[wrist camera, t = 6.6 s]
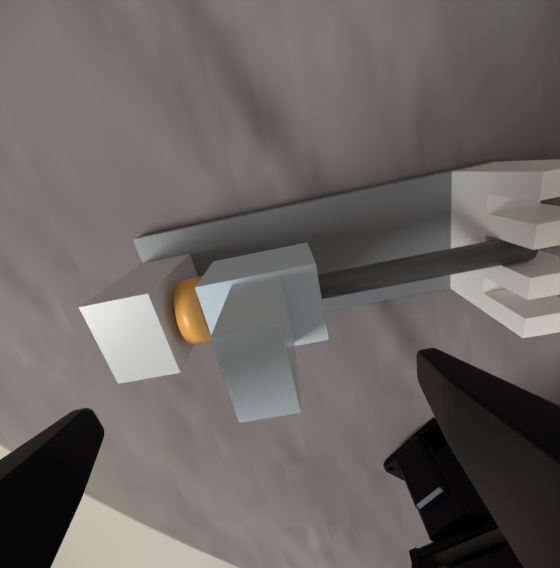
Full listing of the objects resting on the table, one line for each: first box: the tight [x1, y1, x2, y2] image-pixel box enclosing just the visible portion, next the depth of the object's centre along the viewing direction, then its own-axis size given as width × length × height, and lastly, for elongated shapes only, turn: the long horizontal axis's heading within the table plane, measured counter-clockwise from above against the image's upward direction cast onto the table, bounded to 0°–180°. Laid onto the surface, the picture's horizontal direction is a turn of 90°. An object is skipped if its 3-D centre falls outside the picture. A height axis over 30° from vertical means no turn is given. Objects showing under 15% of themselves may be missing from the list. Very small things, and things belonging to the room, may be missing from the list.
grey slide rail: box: [79, 159, 560, 384], centre depth 15 cm, size 21×7×7 cm, turn 102°
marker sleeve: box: [195, 242, 329, 423], centre depth 12 cm, size 5×4×8 cm
